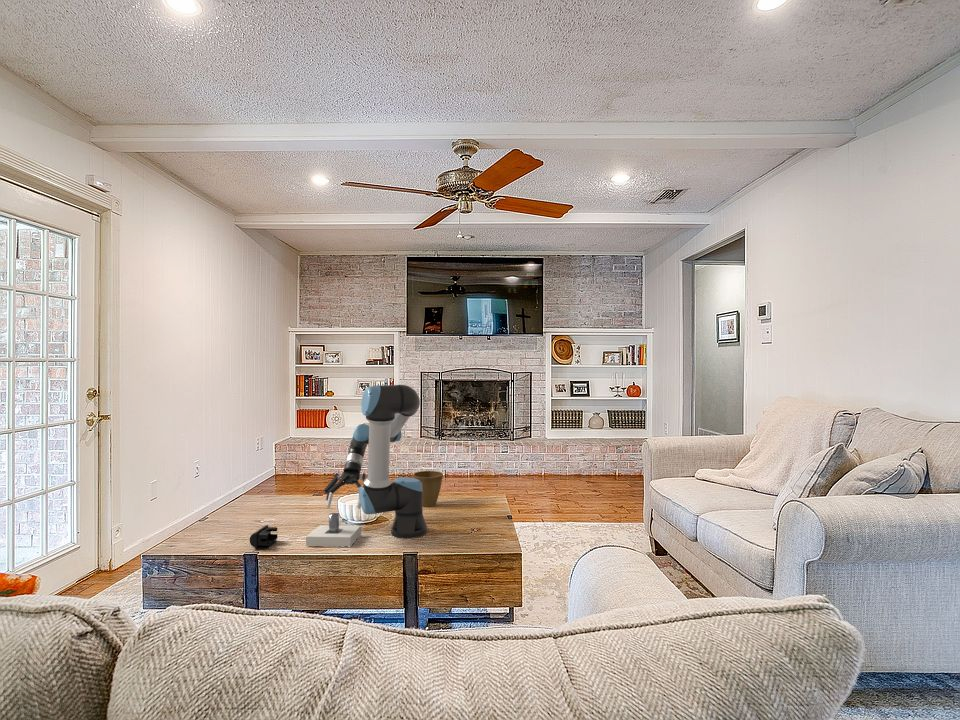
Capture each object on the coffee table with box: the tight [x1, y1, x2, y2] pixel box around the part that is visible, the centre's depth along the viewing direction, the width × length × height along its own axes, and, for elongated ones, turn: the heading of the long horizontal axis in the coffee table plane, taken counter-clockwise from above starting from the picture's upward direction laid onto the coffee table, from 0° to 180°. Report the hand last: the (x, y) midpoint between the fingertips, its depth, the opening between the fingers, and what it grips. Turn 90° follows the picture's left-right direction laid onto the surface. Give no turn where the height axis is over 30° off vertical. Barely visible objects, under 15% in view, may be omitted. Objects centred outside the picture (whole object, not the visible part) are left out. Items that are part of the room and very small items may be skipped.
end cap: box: [249, 524, 278, 550], centre depth 216 cm, size 10×7×7 cm
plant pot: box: [412, 470, 444, 508], centre depth 270 cm, size 15×15×16 cm
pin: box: [328, 512, 340, 534], centre depth 220 cm, size 4×4×11 cm
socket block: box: [305, 524, 362, 548], centre depth 219 cm, size 18×14×4 cm
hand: (343, 507), depth 231 cm, fingers open, 13 cm apart
